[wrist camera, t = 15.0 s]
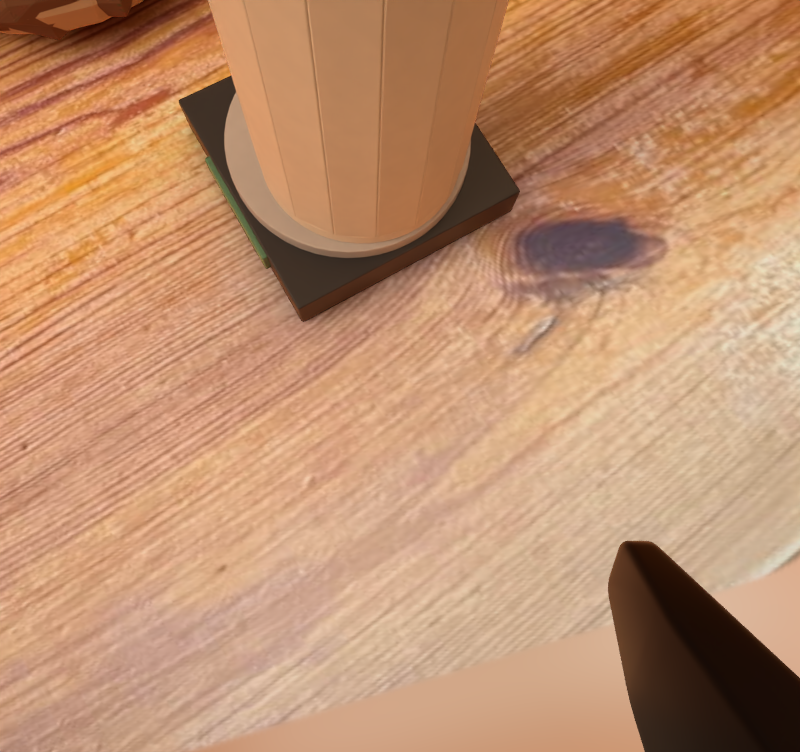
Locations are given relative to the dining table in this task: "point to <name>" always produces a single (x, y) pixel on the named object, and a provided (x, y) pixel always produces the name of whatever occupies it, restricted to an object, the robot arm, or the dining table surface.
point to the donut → (58, 15)
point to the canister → (360, 104)
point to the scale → (314, 254)
